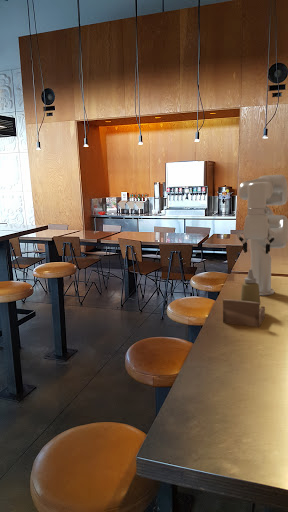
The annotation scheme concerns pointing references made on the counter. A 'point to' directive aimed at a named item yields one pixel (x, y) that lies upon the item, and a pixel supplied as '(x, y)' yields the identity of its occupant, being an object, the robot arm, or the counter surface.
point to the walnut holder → (243, 312)
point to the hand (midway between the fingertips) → (256, 252)
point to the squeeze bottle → (250, 289)
